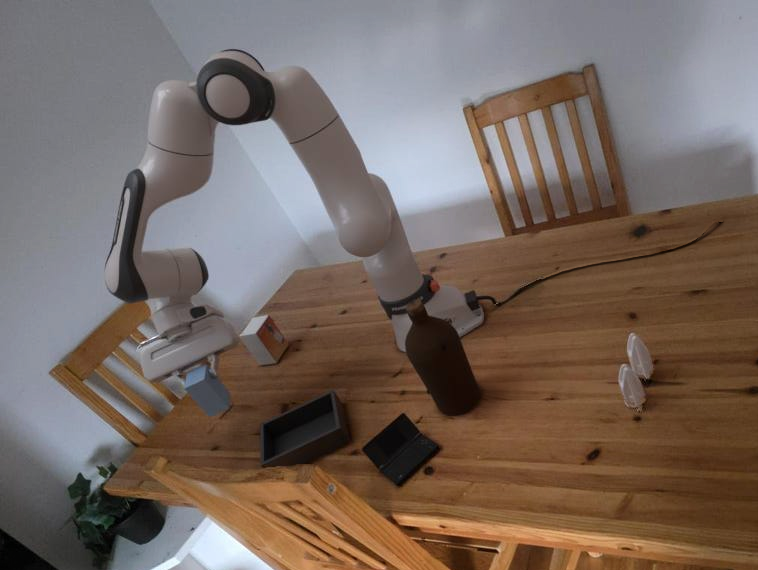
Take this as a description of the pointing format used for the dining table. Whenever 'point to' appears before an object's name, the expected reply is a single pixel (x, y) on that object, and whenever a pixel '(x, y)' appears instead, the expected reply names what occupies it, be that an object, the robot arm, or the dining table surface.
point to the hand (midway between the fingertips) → (202, 383)
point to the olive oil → (440, 361)
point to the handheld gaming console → (399, 449)
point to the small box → (264, 340)
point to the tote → (304, 432)
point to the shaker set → (634, 371)
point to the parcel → (207, 391)
